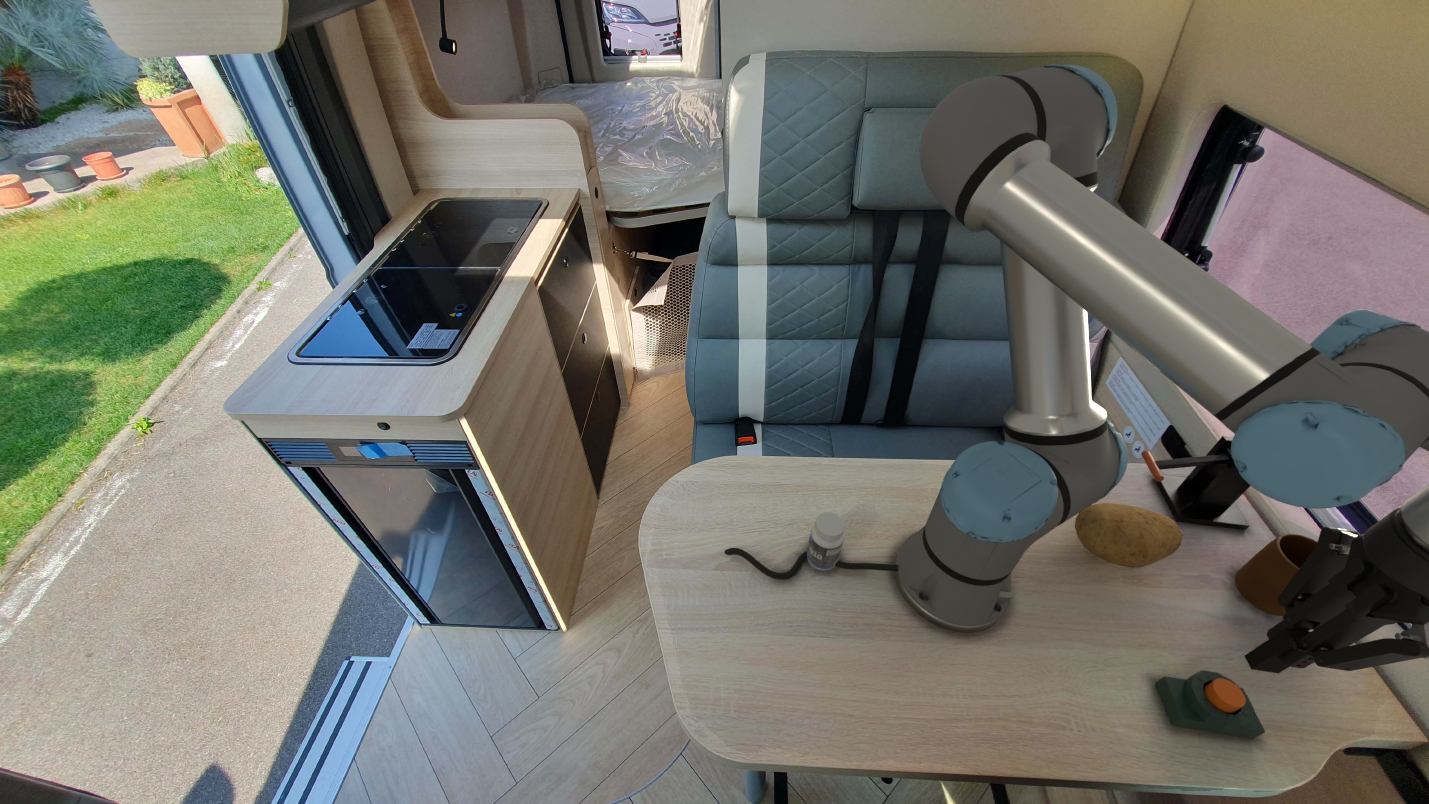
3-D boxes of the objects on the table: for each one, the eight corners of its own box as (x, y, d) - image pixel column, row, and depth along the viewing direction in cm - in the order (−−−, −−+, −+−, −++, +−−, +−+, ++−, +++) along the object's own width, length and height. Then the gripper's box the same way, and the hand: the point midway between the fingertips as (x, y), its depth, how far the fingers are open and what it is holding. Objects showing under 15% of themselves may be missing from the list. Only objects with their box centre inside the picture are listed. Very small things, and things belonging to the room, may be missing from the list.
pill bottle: (799, 549, 86) (806, 515, 80) (827, 539, 87) (835, 505, 82) (816, 576, 83) (824, 542, 77) (844, 564, 84) (854, 530, 78)
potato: (1177, 583, 82) (1210, 552, 77) (1076, 575, 83) (1101, 543, 78) (1146, 527, 90) (1174, 495, 84) (1053, 519, 91) (1075, 487, 85)
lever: (1154, 484, 88) (1156, 474, 87) (1140, 458, 92) (1141, 448, 91) (1259, 475, 84) (1263, 464, 83) (1239, 448, 88) (1243, 437, 87)
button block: (1173, 730, 68) (1192, 718, 65) (1152, 678, 73) (1169, 664, 70) (1256, 744, 67) (1279, 732, 64) (1229, 690, 72) (1250, 676, 69)
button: (1212, 710, 66) (1221, 704, 65) (1199, 682, 69) (1207, 676, 68) (1242, 715, 66) (1251, 709, 65) (1228, 686, 68) (1237, 680, 67)
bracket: (1176, 521, 91) (1225, 467, 82) (1152, 478, 97) (1196, 424, 89) (1245, 530, 90) (1302, 476, 81) (1216, 486, 96) (1267, 431, 88)
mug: (1330, 654, 75) (1388, 619, 69) (1267, 646, 76) (1318, 610, 70) (1277, 573, 84) (1324, 535, 78) (1221, 566, 85) (1263, 528, 78)
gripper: (1585, 624, 41) (1336, 736, 57) (1446, 484, 51) (1266, 613, 67) (1468, 608, 42) (1255, 722, 58) (1352, 472, 51) (1196, 603, 68)
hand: (1261, 664), depth 62 cm, fingers closed
